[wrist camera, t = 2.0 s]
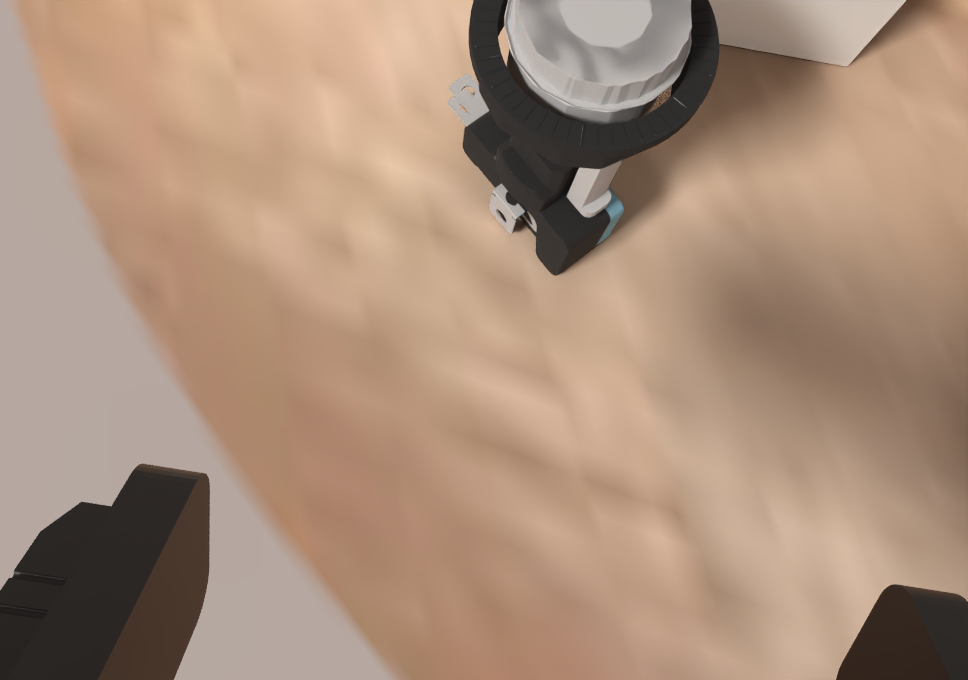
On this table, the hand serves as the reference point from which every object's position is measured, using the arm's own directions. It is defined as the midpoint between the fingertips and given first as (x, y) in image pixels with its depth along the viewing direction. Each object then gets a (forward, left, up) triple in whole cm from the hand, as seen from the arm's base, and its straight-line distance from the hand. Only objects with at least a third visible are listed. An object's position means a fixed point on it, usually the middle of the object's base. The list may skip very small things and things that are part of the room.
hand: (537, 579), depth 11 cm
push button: (0, -12, -15) cm, 19 cm away
